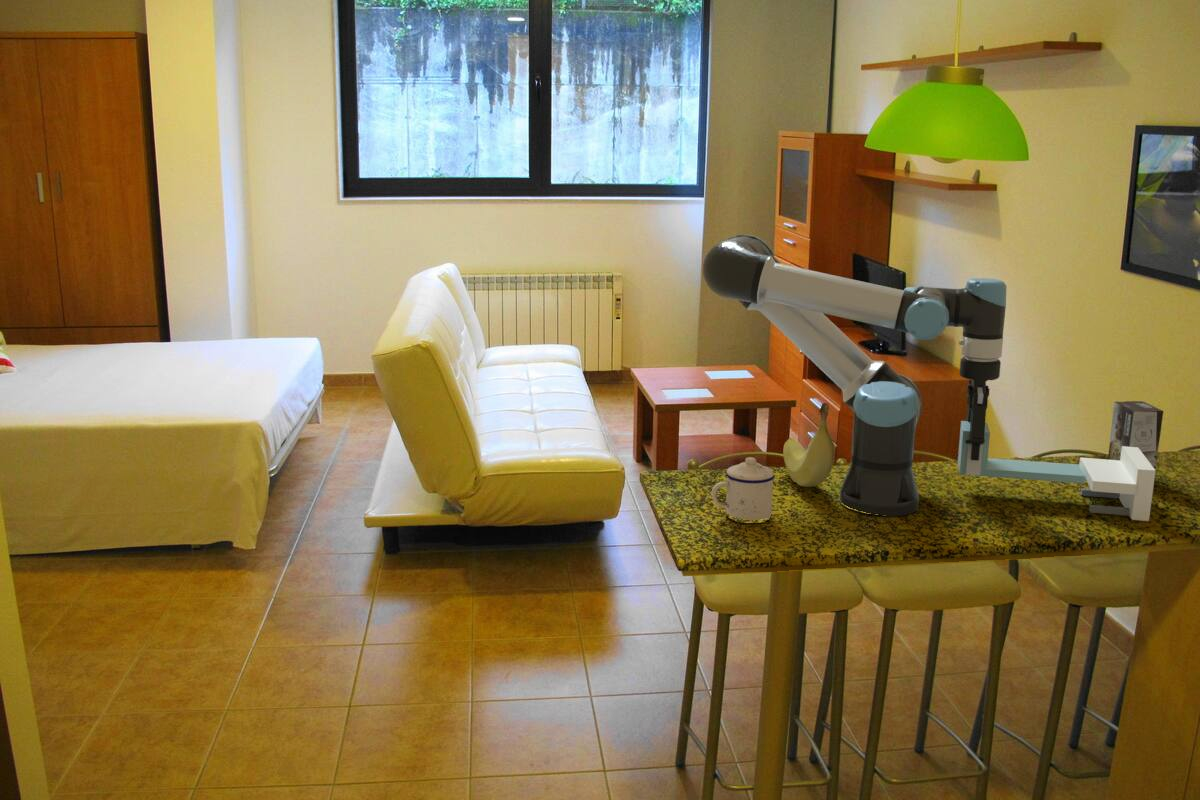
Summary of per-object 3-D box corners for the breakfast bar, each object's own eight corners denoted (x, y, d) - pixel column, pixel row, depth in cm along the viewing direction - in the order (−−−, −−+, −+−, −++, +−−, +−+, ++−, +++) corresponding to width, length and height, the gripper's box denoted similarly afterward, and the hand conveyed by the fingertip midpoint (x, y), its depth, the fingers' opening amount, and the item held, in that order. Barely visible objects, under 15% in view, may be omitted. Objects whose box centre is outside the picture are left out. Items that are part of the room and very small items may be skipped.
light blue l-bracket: (959, 474, 217) (963, 430, 215) (957, 463, 224) (961, 420, 222) (1084, 483, 211) (1089, 438, 209) (1077, 471, 219) (1082, 428, 216)
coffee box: (1155, 486, 226) (1165, 411, 222) (1123, 486, 226) (1133, 410, 223) (1134, 472, 235) (1144, 400, 231) (1104, 472, 235) (1113, 400, 231)
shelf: (1088, 515, 208) (1094, 465, 206) (1076, 490, 223) (1081, 443, 221) (1148, 521, 206) (1155, 470, 203) (1132, 494, 221) (1138, 447, 218)
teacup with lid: (762, 507, 212) (764, 450, 210) (780, 523, 204) (782, 463, 201) (703, 511, 210) (705, 453, 207) (719, 528, 201) (721, 467, 198)
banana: (775, 469, 236) (779, 379, 231) (800, 468, 237) (805, 378, 232) (808, 503, 214) (814, 405, 210) (837, 502, 215) (843, 404, 210)
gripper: (958, 347, 225) (950, 452, 231) (963, 367, 206) (954, 482, 211) (996, 348, 223) (987, 455, 229) (1005, 369, 204) (995, 485, 209)
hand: (971, 468), depth 220 cm, fingers closed on light blue l-bracket, 8 cm apart
